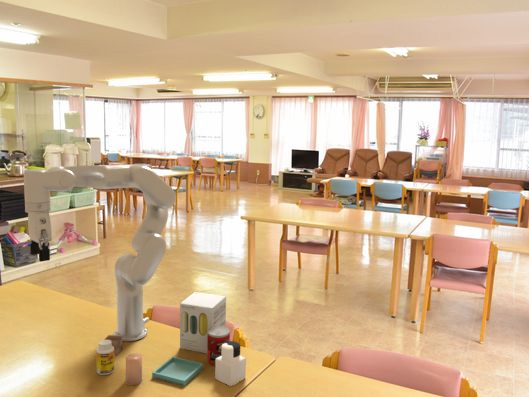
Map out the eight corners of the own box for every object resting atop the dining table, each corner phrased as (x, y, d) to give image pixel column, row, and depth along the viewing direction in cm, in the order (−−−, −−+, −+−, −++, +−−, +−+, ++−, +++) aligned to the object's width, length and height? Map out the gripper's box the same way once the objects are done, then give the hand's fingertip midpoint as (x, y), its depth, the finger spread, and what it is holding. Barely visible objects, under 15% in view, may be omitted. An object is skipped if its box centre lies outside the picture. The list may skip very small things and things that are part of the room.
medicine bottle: (229, 370, 157) (230, 336, 156) (245, 378, 153) (246, 343, 151) (214, 379, 152) (215, 344, 150) (230, 387, 147) (231, 351, 146)
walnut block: (109, 348, 171) (108, 335, 170) (122, 349, 170) (122, 336, 170) (102, 354, 166) (102, 341, 165) (116, 355, 165) (116, 342, 165)
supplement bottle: (99, 377, 151) (98, 347, 149) (94, 370, 155) (94, 340, 154) (116, 373, 154) (116, 343, 152) (111, 365, 158) (111, 336, 157)
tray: (172, 361, 163) (172, 356, 162) (203, 368, 158) (203, 363, 158) (152, 377, 151) (152, 372, 151) (184, 386, 147) (184, 380, 147)
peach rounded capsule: (132, 375, 152) (132, 352, 151) (145, 379, 151) (145, 355, 149) (122, 383, 148) (122, 359, 147) (135, 386, 146) (135, 362, 145)
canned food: (209, 367, 159) (209, 336, 157) (205, 356, 167) (205, 326, 165) (231, 365, 161) (232, 334, 160) (226, 354, 169) (227, 325, 167)
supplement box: (178, 348, 172) (178, 302, 169) (194, 334, 184) (194, 291, 182) (212, 354, 168) (213, 308, 165) (226, 339, 180) (226, 295, 178)
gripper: (58, 209, 151) (60, 261, 154) (42, 202, 164) (44, 250, 166) (33, 212, 146) (35, 265, 149) (18, 204, 159) (20, 253, 162)
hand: (40, 257), depth 158 cm, fingers open, 9 cm apart
